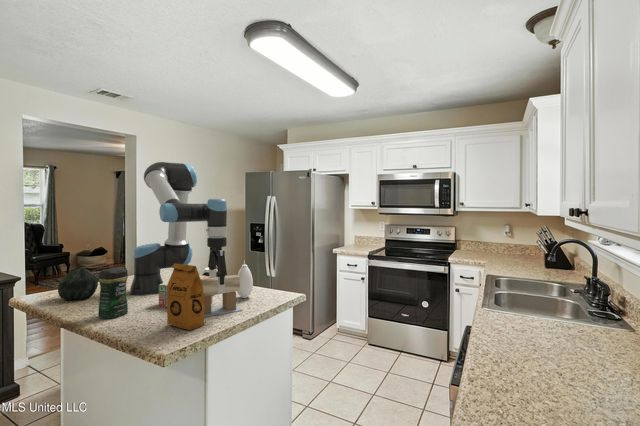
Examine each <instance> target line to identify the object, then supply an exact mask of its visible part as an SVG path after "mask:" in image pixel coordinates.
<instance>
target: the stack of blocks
mask: <svg viewBox="0 0 640 426" xmlns="http://www.w3.org/2000/svg"><path fill="white" fill-rule="evenodd" d="M199 276H200V279H201V280H202V279H209V276H202V275H199ZM168 282H169V281H164V282H163V283H162V284H160V285H159V293H158V306H159V307H167V285H168ZM212 304H213V295H211V305H212Z"/></svg>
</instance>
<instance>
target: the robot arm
mask: <svg viewBox="0 0 640 426" xmlns="http://www.w3.org/2000/svg"><path fill="white" fill-rule="evenodd" d="M143 180H144V183H145V185H146V186H147V188H149V189H151V191H152V193H153V194H154V196H155V197H156V200H157V201H158V203H159V204H160V207H159V211H158V213H159V217H160V221H161V222H164V223H168V232H167V239H166V240H164V243H163V245H161V243H159V242H157V243H156V242H155V243H147V244H146V243H145V244H141V245H138V246H136V247H135V248H134V250H133V279H132V282H131V284H130V287H129V294H130V295H135V296H146V295H147V296H148V295H153V294H154V295H155V294H159V285H160V284H162V283H164V282H163V279H162V276H161V270H162V269H171V268H172V266H173V265H174V264H184V265H190V263H191V261H192V258H193V246H192V245H191V244H189V240H188V239H187V225H188V224H187V223H188V222H189V223H190V222H192V223H193V222H206V223H207V228H206V229H205V231H206V232H207V234H206V236H207V239H206V242H207V243H206V245H207V247H209V256H208V262H207V263H208V264H207V268H209V278H216V270H214V269H217V270H218V274H217V277H218V293H224V292H225V276H228V271H227V264H226V263H227V262H226V257H225V256H226V255H225V254H226V253H225V249H224V250H223V249H222V248H223V247H224V248H225V247H226V246H228V245H227V244H228V243H227V236H228V234H227V232H228V228H227V220H228V219H227V218H228V217H227V216H228V212H227V211H228V206H227V200H226V199H221V198H209V199H208V200H207V203H189V194H190V193H191V192H192V191H193V188H195V187H196V186H197V181H198V176H197V172H196V170H195V168H194V166H193V165H192V164H187V163H180V162H179V163H178V162H165V161H157V162H154V163H152V164H150V165H149V166H148V167H147V168H146V169H145V171H144V173H143Z"/></svg>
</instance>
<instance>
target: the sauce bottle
mask: <svg viewBox="0 0 640 426" xmlns="http://www.w3.org/2000/svg"><path fill="white" fill-rule="evenodd" d="M245 260H246V259H244V260H243V264H242V265H241V267H240V268H239V270H238V272H237V274H236V275H237V276H240V291H236V294H237V295H238V296H240V298H242V299H247V298H248V297H249V296H250V295H251V293H252V291H253V288H254V280H253V276H252V271H251V270H250V268H249V266H248V265H247V264H246V261H245Z"/></svg>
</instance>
